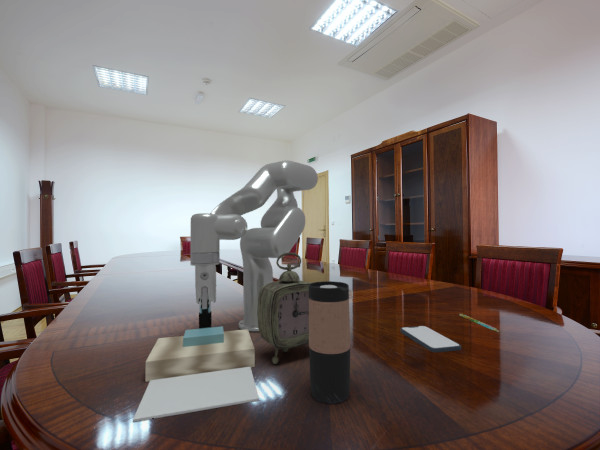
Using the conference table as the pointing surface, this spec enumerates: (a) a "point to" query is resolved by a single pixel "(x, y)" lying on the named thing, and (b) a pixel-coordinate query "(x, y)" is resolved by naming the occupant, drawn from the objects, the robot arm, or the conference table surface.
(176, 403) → the mat
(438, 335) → the phone case
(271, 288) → the tabletop clock
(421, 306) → the conference table surface
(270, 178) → the robot arm
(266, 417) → the conference table surface
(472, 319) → the pencil
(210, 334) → the blue rectangular block
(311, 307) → the travel mug
